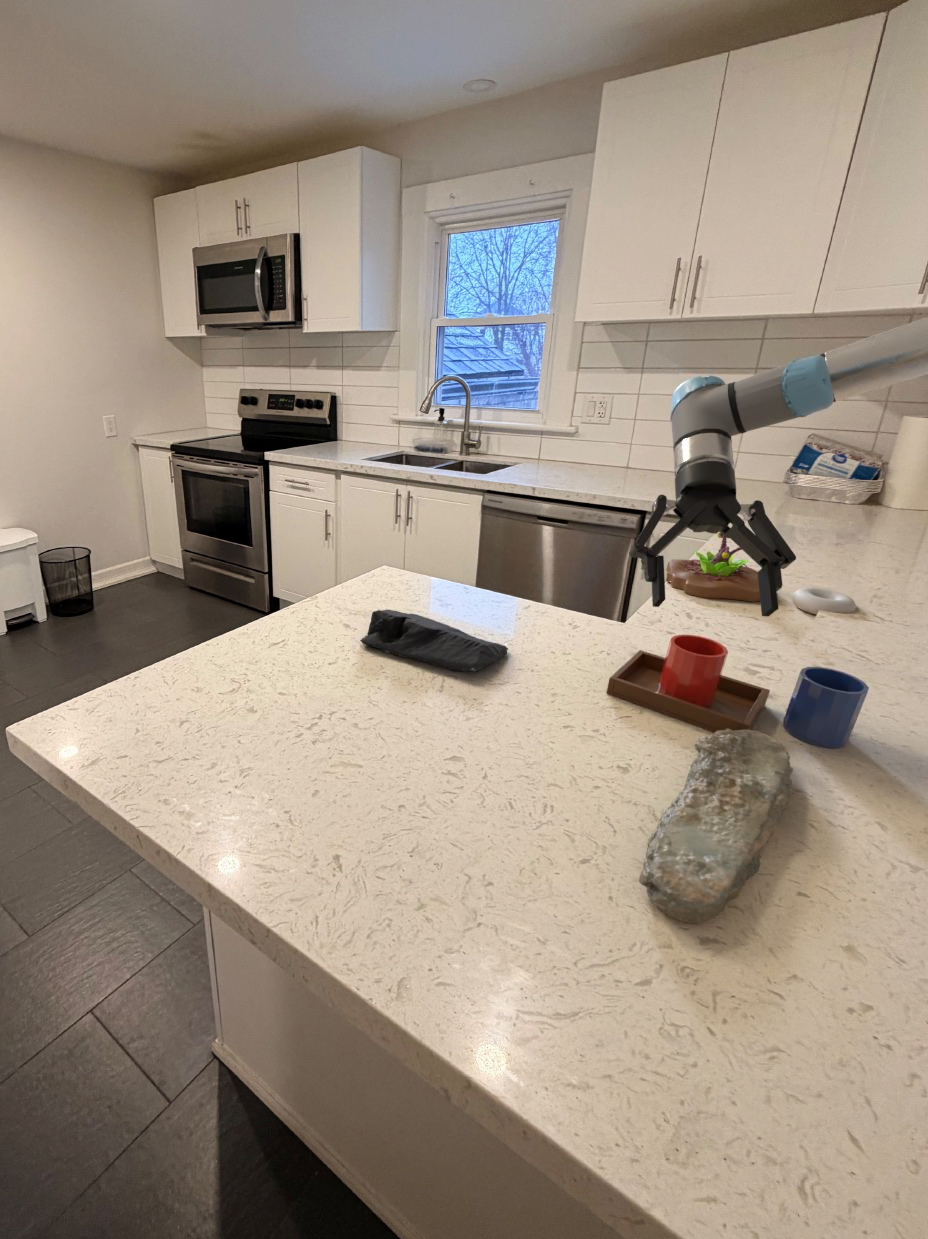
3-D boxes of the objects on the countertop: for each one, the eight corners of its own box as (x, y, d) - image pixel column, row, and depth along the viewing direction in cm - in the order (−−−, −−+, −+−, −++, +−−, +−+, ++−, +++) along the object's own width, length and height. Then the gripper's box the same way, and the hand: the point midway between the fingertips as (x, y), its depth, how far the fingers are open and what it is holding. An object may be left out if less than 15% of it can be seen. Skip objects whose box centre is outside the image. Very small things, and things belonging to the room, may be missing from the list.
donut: (785, 610, 124) (849, 624, 118) (790, 594, 123) (855, 607, 116) (794, 597, 131) (855, 609, 124) (799, 581, 129) (861, 593, 123)
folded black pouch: (470, 688, 93) (474, 659, 91) (351, 643, 106) (352, 617, 104) (515, 653, 104) (519, 626, 102) (402, 616, 117) (404, 592, 115)
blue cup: (850, 732, 84) (871, 679, 81) (843, 755, 80) (865, 699, 77) (787, 712, 89) (805, 661, 86) (777, 733, 84) (796, 679, 81)
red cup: (718, 695, 92) (733, 645, 88) (705, 714, 87) (720, 662, 84) (666, 678, 96) (679, 630, 93) (651, 695, 91) (663, 645, 88)
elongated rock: (605, 897, 60) (721, 967, 54) (618, 857, 58) (741, 926, 52) (711, 730, 83) (801, 766, 77) (723, 697, 81) (817, 731, 75)
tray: (764, 705, 90) (770, 689, 89) (744, 742, 82) (749, 725, 81) (636, 664, 101) (639, 649, 100) (606, 693, 93) (609, 677, 92)
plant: (749, 573, 143) (763, 525, 139) (785, 605, 126) (803, 551, 121) (653, 565, 147) (664, 517, 143) (675, 595, 130) (688, 542, 125)
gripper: (785, 493, 94) (802, 627, 86) (606, 483, 98) (607, 609, 91) (814, 462, 87) (835, 605, 79) (620, 453, 92) (622, 587, 84)
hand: (713, 607), depth 85 cm, fingers open, 13 cm apart
